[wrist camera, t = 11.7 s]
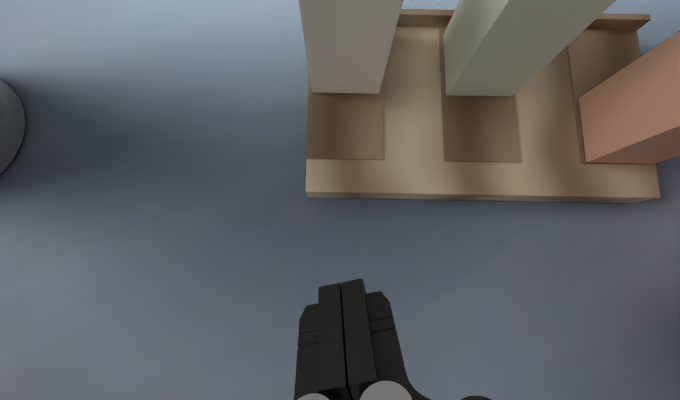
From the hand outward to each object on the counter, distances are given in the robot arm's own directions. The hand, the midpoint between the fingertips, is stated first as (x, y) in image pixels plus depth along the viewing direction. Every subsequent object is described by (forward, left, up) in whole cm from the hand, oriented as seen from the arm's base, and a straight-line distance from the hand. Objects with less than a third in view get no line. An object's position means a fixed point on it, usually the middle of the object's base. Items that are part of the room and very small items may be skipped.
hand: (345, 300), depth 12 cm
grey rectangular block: (+6, +13, -9) cm, 17 cm away
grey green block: (+14, +10, -9) cm, 19 cm away
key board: (+13, +7, -11) cm, 19 cm away
